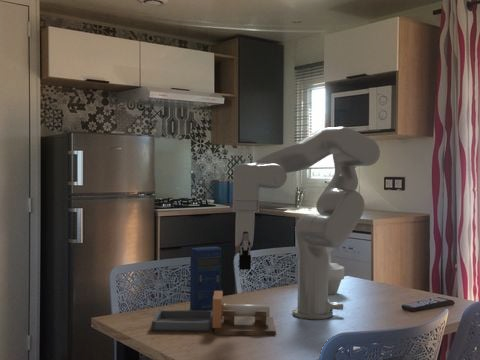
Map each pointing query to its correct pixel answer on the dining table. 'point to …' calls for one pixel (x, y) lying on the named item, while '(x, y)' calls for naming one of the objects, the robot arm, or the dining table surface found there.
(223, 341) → the dining table surface
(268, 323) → the cradle board
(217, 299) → the orange bracket
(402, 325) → the dining table surface
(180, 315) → the tray
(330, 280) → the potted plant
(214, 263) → the electronic device
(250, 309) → the yellow-tipped white cylinder
